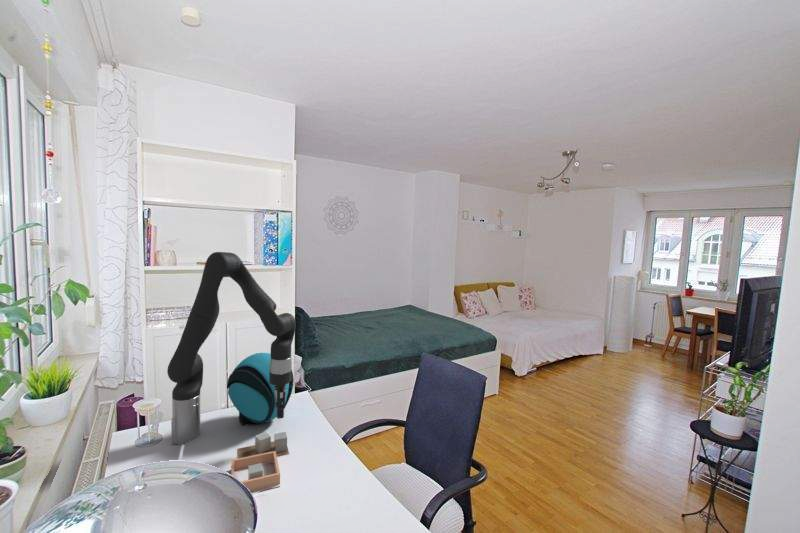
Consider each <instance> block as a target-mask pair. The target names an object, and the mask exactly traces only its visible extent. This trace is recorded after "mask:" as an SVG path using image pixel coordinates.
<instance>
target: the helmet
mask: <svg viewBox="0 0 800 533" xmlns="http://www.w3.org/2000/svg"><path fill="white" fill-rule="evenodd" d="M270 358H271V353H269V352H258V353H253V354H251V355H248V356H247V357H245V358H244V359H243V360H241V361H240V362H239V364H237V366H235V368H234V369H233V371H232V373H231V374H230V375H229V376H228V379H227V382H226V389H227V395H228V396H229V399H230V400H231V403H232V404H233V406H234V407H235V408H236V411H238V420H239V421H238V422H239V423H240V425H242V426H255V425H260V424H265V423H268V422H271V421H272V420H274V419H276V418H277V407H276V401H275V391H274V386H276V385H272V384H270V382H269V371H270ZM294 379H295V378H294V373H293V369H292V368H291V381H290V382H289V383H288V384H286V400H285V408H286V407H287V405H288V403H289V400H290V398H291V397H292V394H293V389H294V384H295V383H294ZM282 405H283V402H282Z"/></svg>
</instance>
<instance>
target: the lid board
mask: <svg viewBox="0 0 800 533" xmlns="http://www.w3.org/2000/svg"><path fill="white" fill-rule="evenodd" d="M236 450H237V451H236V452H237V459H239V458H243V457H248V456H253V455H258V454H263V453H267V452H272V451H275V448H274V440H273V441H271V448H270V450H268V451H265V452H263V453H259V452H258V451H257V450H256V449H255V444H254V445H249V446H248V445H247V446H245V447H238V448H236ZM287 455H290V451H289V448H288V446H287V450H286V451H282V452H277V453H276V456H277V458H278V457H283V456H287Z"/></svg>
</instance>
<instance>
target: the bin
mask: <svg viewBox="0 0 800 533" xmlns="http://www.w3.org/2000/svg"><path fill="white" fill-rule="evenodd" d="M230 462H231V468H230V470H231V472H230V473H231V474H230V475H233V476H234V477H235V471H238V470H241V469H245V468H247V469H248V466H250V465H255V464H259V463H262V465H264V464H269V463H273V469H274V473H271V474H267V475H263V477H258V478H254V479H250V480H248V479H246V480H243V481H242V480H241V481H240V482H242V483H243V484H244V485H245V486H246V487H247V488H248V489H249V490H250V491H249V492H252V491H257V490H260V491H259V492H257V493H262V492H267V491H271V490H275V489H278V488H280V487H281V486H280V483H281V472H280V467H279V463H278V462H279V461H278V457H277V456H276V451H272V452H267V453H263V454H258V455H253V456H248V457H243V458H239V459H238V458H235V459H234V458H233V459H231V461H230ZM272 486H273V487H272ZM274 486H275V487H274ZM268 487H269V488H268ZM270 487H271V488H270ZM265 488H267V489H265ZM261 489H263V490H261Z"/></svg>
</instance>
